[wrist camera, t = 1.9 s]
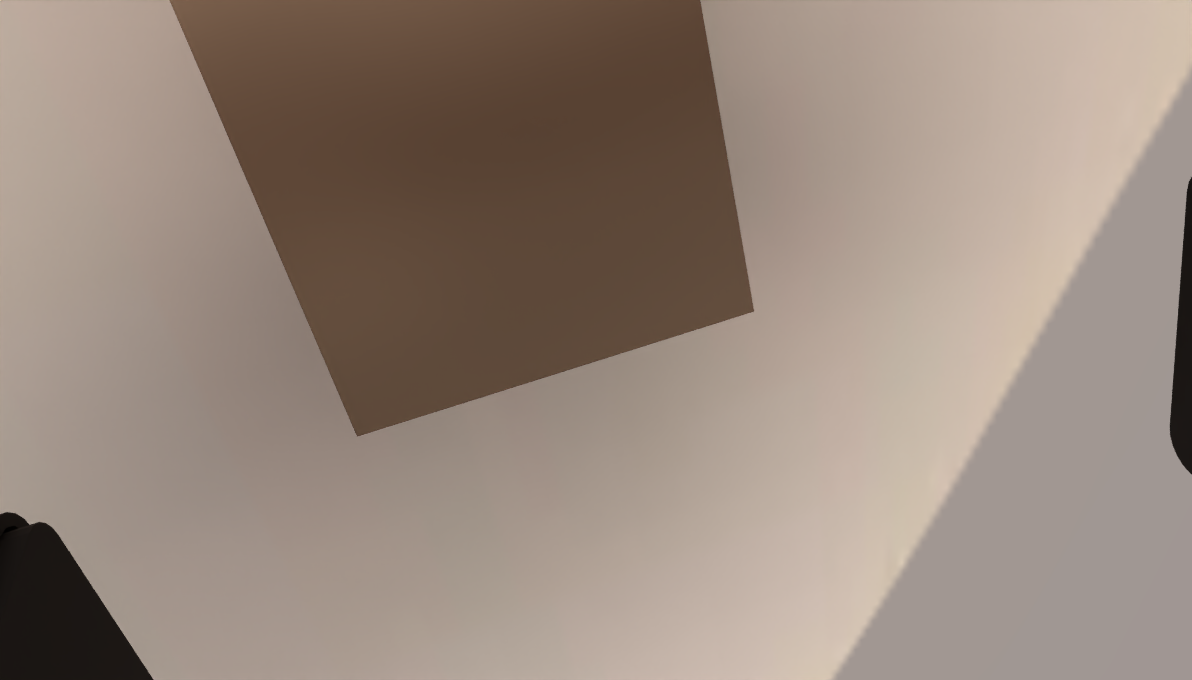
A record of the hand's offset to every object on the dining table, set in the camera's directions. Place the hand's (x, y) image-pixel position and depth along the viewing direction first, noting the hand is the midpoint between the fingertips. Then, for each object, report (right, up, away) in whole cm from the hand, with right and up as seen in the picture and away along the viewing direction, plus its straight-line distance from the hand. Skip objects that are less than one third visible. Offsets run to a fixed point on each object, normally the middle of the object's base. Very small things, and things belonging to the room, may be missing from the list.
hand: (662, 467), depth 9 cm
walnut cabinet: (-4, +8, +12) cm, 14 cm away
